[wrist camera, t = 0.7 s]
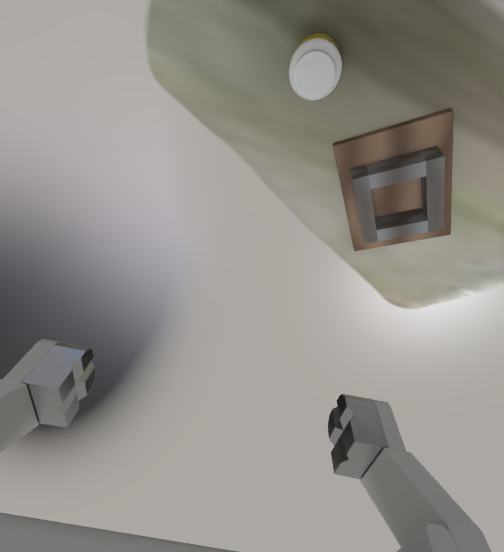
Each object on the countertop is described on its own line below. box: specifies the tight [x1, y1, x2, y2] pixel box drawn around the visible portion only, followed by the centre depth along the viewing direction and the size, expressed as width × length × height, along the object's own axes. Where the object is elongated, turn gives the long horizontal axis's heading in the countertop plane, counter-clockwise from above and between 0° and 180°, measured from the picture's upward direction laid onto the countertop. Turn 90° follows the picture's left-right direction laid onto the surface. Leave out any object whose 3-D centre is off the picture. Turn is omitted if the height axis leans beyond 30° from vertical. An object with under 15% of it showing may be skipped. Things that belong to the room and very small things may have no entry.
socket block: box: [333, 109, 453, 251], centre depth 44 cm, size 14×18×4 cm
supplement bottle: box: [289, 33, 342, 100], centre depth 34 cm, size 5×5×10 cm
